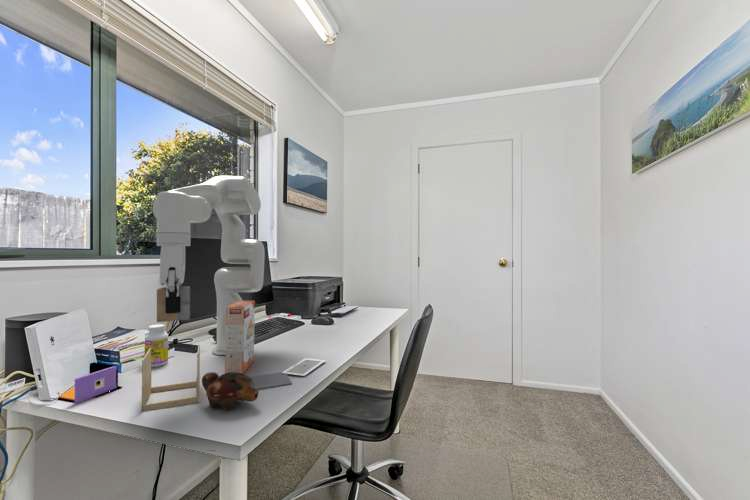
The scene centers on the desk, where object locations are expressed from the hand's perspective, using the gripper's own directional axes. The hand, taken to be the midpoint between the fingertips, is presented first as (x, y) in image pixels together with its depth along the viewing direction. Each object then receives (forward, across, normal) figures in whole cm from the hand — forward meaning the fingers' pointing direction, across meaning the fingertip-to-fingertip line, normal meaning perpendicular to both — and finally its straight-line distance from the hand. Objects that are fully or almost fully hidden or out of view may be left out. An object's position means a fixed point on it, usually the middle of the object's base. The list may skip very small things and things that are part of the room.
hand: (174, 310), depth 88 cm
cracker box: (+23, -16, +17) cm, 33 cm away
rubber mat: (+23, 0, +24) cm, 33 cm away
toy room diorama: (+23, -12, -21) cm, 33 cm away
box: (+2, 0, 0) cm, 2 cm away
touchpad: (+23, -7, +36) cm, 43 cm away
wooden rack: (+22, +1, 0) cm, 22 cm away
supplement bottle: (+23, -31, -8) cm, 40 cm away
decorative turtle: (+23, +12, +13) cm, 28 cm away
